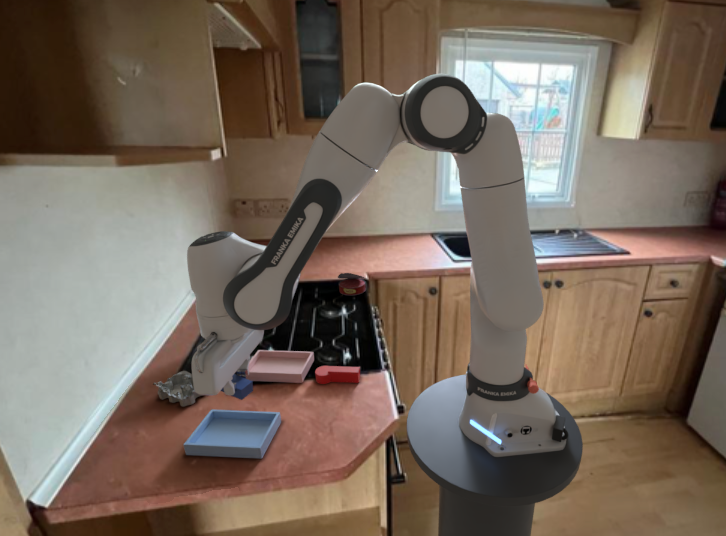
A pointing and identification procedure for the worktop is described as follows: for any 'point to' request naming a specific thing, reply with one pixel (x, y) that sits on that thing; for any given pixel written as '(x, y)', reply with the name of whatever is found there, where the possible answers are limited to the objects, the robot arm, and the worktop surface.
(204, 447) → the blue tray
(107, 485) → the worktop surface
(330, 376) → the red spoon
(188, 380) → the egg carton
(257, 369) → the rose tray
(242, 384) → the dark blue block
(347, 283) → the canned food
